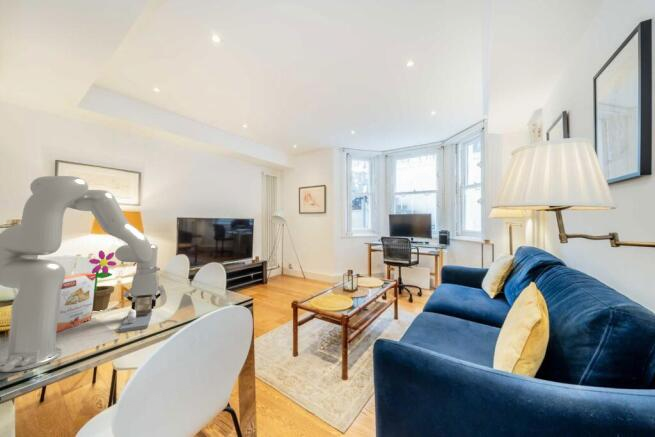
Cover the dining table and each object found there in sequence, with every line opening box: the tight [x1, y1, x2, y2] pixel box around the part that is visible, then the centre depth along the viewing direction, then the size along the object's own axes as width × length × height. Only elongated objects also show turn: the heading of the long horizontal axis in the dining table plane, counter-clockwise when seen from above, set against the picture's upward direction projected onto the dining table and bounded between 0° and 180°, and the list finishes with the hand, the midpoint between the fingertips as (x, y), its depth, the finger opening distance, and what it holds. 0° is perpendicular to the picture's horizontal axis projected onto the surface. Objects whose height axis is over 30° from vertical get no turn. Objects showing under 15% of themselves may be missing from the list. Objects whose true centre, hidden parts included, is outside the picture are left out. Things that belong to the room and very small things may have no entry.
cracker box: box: [56, 272, 96, 334], centre depth 101 cm, size 14×6×21 cm, turn 179°
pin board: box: [119, 309, 153, 334], centre depth 107 cm, size 20×9×7 cm, turn 32°
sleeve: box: [135, 295, 153, 314], centre depth 112 cm, size 6×6×7 cm
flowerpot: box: [88, 250, 117, 312], centre depth 119 cm, size 14×14×30 cm
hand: (143, 308), depth 112 cm, fingers open, 6 cm apart
